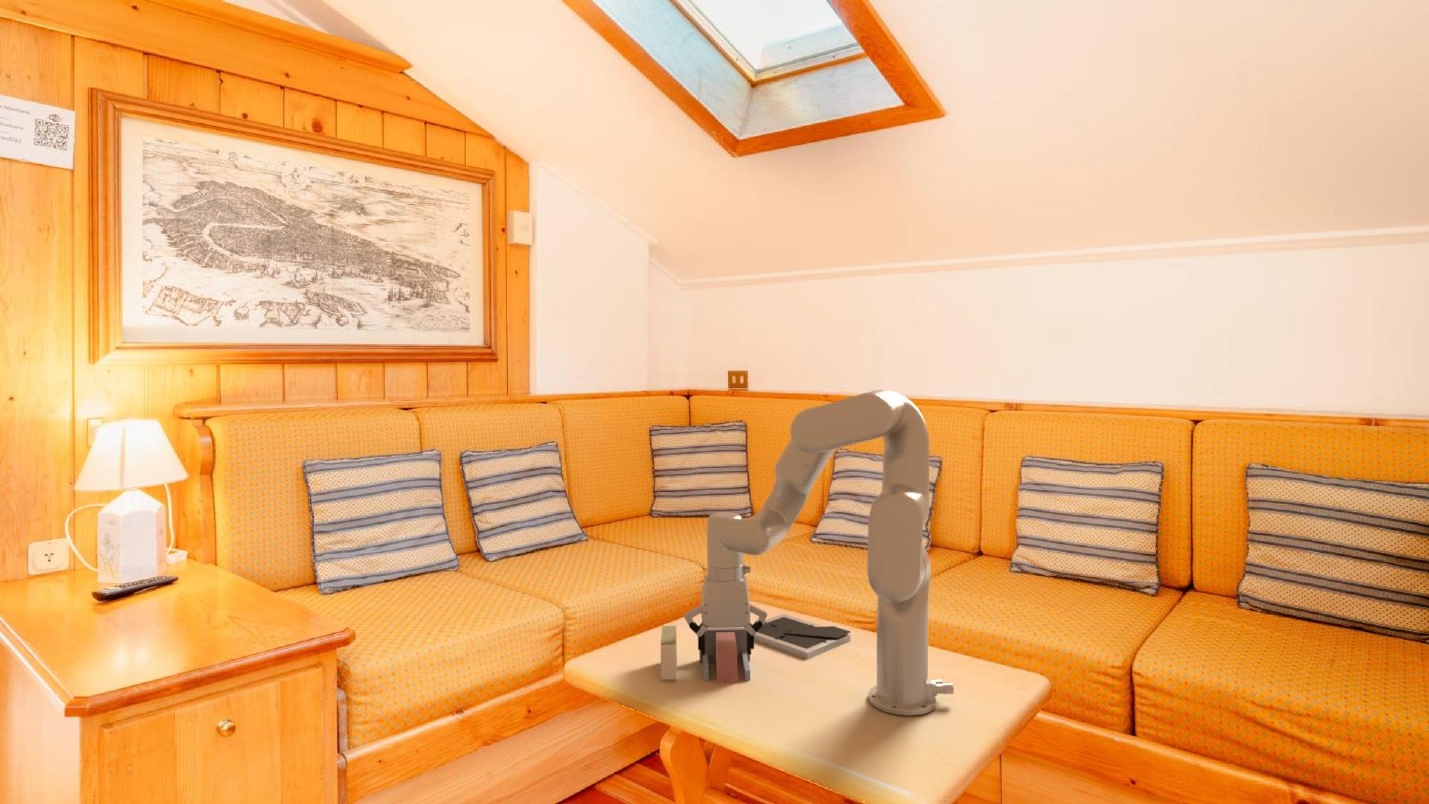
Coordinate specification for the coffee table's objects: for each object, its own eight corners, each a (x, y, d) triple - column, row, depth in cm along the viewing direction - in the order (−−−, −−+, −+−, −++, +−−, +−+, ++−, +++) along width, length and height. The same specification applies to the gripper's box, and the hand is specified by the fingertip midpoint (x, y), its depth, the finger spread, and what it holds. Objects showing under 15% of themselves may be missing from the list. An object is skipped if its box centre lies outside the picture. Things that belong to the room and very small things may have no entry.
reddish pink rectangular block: (734, 663, 169) (734, 632, 168) (737, 683, 159) (737, 649, 158) (716, 664, 169) (715, 632, 168) (717, 683, 159) (717, 649, 158)
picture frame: (850, 643, 182) (783, 622, 197) (850, 631, 182) (783, 611, 197) (807, 662, 171) (739, 638, 186) (807, 649, 171) (739, 626, 186)
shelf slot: (749, 658, 171) (749, 627, 171) (753, 680, 160) (753, 646, 160) (699, 659, 171) (699, 628, 170) (700, 681, 160) (700, 647, 159)
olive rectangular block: (676, 661, 170) (676, 625, 170) (676, 680, 160) (675, 642, 159) (662, 662, 170) (662, 625, 169) (661, 681, 160) (660, 643, 159)
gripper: (765, 566, 167) (765, 645, 168) (684, 568, 166) (684, 646, 167) (768, 576, 159) (768, 658, 160) (683, 578, 159) (684, 660, 160)
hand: (726, 652), depth 164 cm, fingers open, 9 cm apart
